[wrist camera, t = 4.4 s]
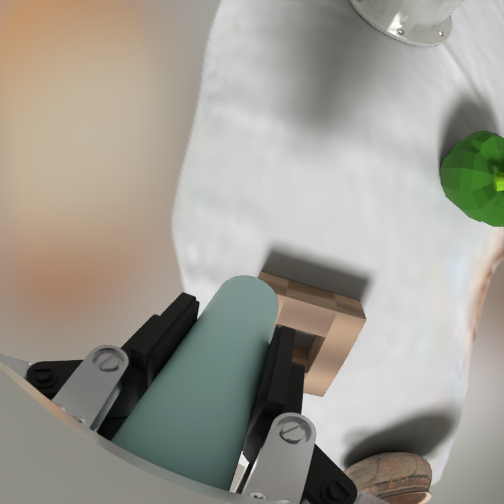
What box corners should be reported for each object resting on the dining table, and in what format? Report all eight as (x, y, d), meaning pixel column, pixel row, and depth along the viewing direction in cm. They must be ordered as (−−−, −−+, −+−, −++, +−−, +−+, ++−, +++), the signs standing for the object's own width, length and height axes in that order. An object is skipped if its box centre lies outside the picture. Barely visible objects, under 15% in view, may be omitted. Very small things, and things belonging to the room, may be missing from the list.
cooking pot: (448, 444, 32) (460, 490, 20) (380, 485, 38) (382, 526, 27) (372, 418, 32) (380, 485, 20) (296, 465, 38) (288, 518, 27)
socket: (260, 271, 28) (253, 286, 24) (359, 300, 27) (366, 319, 23) (237, 350, 32) (229, 371, 28) (322, 374, 31) (322, 396, 27)
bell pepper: (490, 150, 19) (548, 150, 10) (480, 220, 22) (536, 245, 12) (432, 124, 20) (486, 109, 11) (422, 202, 23) (475, 221, 14)
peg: (223, 267, 13) (90, 432, 4) (287, 287, 13) (235, 495, 4) (211, 319, 14) (112, 476, 5) (268, 338, 14) (213, 518, 5)
